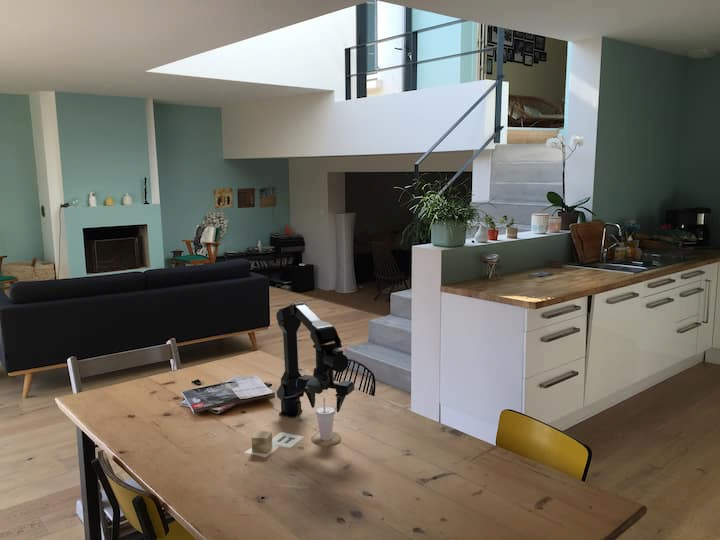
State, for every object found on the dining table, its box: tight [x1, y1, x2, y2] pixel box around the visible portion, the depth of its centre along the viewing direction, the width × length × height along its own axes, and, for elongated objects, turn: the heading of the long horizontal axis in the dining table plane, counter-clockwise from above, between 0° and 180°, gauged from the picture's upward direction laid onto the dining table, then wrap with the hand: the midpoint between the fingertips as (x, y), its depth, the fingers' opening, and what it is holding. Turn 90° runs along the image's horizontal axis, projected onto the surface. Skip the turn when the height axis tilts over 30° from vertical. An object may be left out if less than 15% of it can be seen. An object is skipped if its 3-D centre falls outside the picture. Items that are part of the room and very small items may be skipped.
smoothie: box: [315, 397, 336, 440], centre depth 197 cm, size 6×6×14 cm
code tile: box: [272, 431, 305, 449], centre depth 197 cm, size 9×9×1 cm
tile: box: [244, 444, 280, 458], centre depth 190 cm, size 8×8×1 cm
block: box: [251, 430, 273, 454], centre depth 190 cm, size 5×5×5 cm
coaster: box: [310, 431, 342, 447], centre depth 198 cm, size 10×10×1 cm
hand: (325, 409), depth 196 cm, fingers open, 9 cm apart
